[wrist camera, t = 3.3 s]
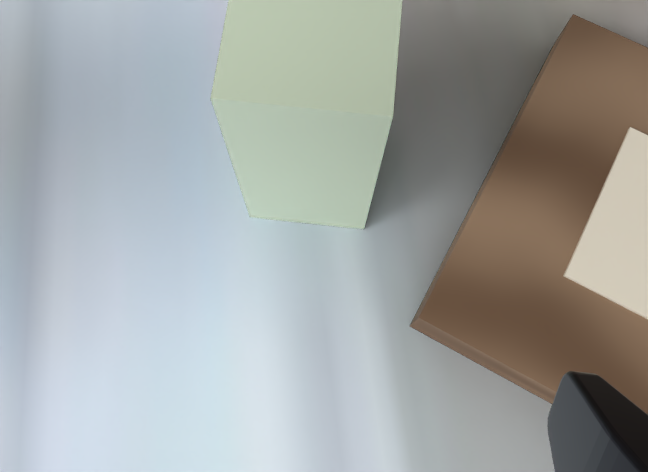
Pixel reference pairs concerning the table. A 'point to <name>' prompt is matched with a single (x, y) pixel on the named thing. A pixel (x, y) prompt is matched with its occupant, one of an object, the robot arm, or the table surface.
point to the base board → (559, 230)
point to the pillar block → (307, 104)
